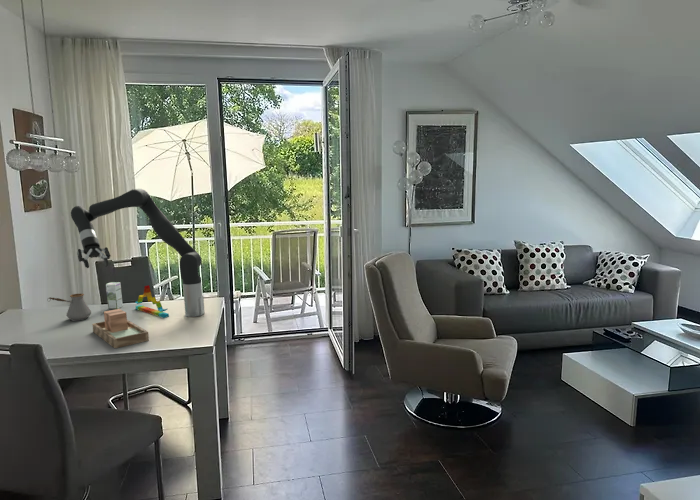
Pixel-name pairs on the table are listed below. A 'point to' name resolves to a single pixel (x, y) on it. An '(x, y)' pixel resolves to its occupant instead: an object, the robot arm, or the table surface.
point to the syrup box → (114, 295)
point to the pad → (124, 333)
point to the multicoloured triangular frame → (149, 297)
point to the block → (115, 320)
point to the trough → (122, 341)
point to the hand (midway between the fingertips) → (97, 266)
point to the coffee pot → (76, 307)
